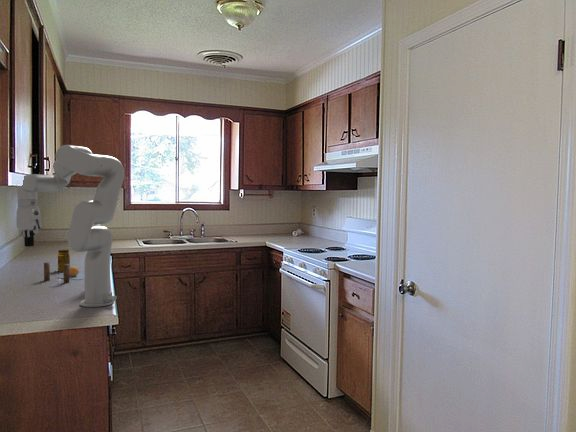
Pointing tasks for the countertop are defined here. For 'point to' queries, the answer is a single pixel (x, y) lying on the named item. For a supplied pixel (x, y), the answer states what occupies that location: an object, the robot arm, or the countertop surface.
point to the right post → (66, 273)
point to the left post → (47, 271)
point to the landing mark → (76, 277)
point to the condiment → (63, 259)
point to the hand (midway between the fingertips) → (29, 246)
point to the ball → (73, 271)
